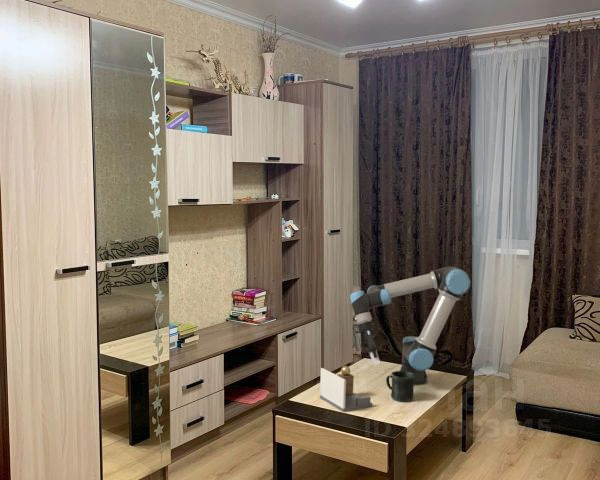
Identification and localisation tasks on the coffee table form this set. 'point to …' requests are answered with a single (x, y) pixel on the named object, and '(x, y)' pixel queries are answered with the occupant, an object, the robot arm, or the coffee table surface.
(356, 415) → the coffee table surface
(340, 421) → the coffee table surface
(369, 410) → the coffee table surface
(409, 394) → the mug
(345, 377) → the slider
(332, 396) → the stand
